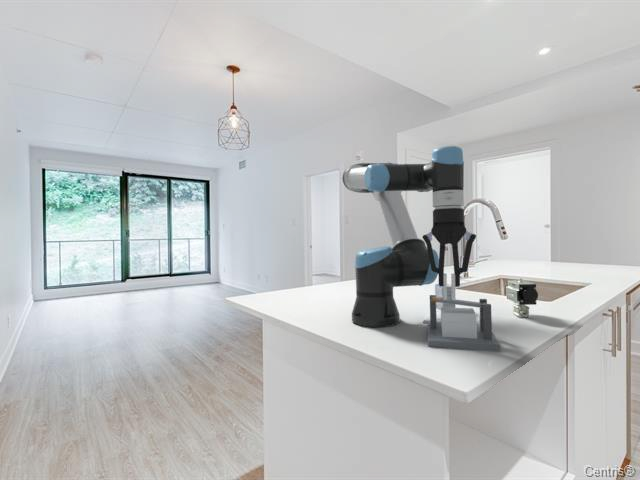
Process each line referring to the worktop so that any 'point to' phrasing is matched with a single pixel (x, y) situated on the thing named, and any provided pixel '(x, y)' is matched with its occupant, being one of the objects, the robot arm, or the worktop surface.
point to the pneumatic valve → (521, 296)
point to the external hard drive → (438, 318)
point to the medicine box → (440, 294)
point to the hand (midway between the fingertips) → (449, 298)
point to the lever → (458, 302)
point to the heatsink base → (462, 341)
